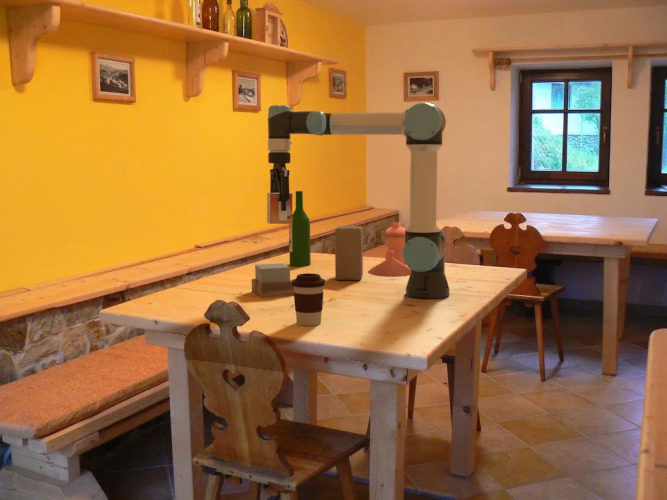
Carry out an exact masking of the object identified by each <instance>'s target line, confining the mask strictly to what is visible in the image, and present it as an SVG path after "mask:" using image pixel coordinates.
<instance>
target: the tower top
mask: <svg viewBox="0 0 667 500" xmlns="http://www.w3.org/2000/svg"><path fill="white" fill-rule="evenodd" d="M254 269H255V271H254V272H255V275H254V276H255V278H254V279H256V280H258V281H259V282H260V283H261V284H263V283H279V282H290V279H291V266H290V265H289V266H288V265H287V264H285V263H284V262H282V263H264V264H255V265H254Z"/></svg>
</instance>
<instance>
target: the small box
mask: <svg viewBox="0 0 667 500" xmlns="http://www.w3.org/2000/svg"><path fill="white" fill-rule="evenodd" d="M289 197H290V198H289V200H288V201H287V220H284V221H279V201H278V199H280V197H279V193H270V192H267V193H266V204H267V205H266V222H267V223H268V224H269V225H277V224H278V225H289V224H292V215H293V207H294V206H293V199H294V198H293V193H292V192H289Z"/></svg>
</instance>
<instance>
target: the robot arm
mask: <svg viewBox="0 0 667 500" xmlns="http://www.w3.org/2000/svg"><path fill="white" fill-rule="evenodd" d="M446 121H447V120H446V117H445V114H444V112H443V111H442V110H441V109H440V108H439V107H438V106H436V105H434V104H433V103H430V102H419V103H415V104H414V105H412V106H411V107H409V108H406V109H405V110H404V111H393V112H391V111H389V112H380V111H379V112H378V111H377V112H323V111H321V110H319V111H318V110H308V111H307V110H305V111H303V110H302V111H301V110H300V111H293V110H291V107H290V106H289V105H287V104H284V105H281V104H280V105H279V104H277V105H276V104H273V105H270V106H269V107H268V113H267V131H268V133H267V135H268V136H267V138H268V139H267V150H268V151H269V152H268V155H267V157H268V159H267V161H268V164H273V165H272V166H273V167H272V169H269V175H270V181H269V189H270V190H269V191H270V192H269V193H279V197H280V199H278V201H279V221H284V220H287V201H288V200H289V198H290V197H289V193H290V170H289V169H287V166H286V164H290V163H291V153H290V152H289V151H291V145H292V144H293V143H292V141H291V135H315V136H334V135H335V136H337V135H339V136H340V135H341V136H344V135H345V136H347V135H350V136H351V135H352V136H355V135H356V136H358V135H362V136H363V135H364V136H365V135H368V136H370V135H371V136H373V135H379V136H380V135H384V136H385V135H388V136H389V135H391V136H392V135H401V136H404V137H405V146H406V147H407V149H408V150H409V152H410V170H409V171H410V172H409V174H410V176H409V178H410V180H409V185H410V186H409V189H410V190H409V224H408V226H407V227H405V245H404V248H403V252H402V254H403V260H404V262H405V264H404V265H406V266H407V267H409V268H410V269H411V274H410V275H409V278H408V281H407V283H406V287H405V295H406V296H408V297H412V298H420V299H437V298H438V299H439V298H440V299H441V298H446V297H448V296H450V286H449V283H448V279H447V276H446V273H445V268H446V267H445V264H446V263H445V262H446V261H445V258H446V257H445V256H446V255H445V254H446V249H445V248H446V246H445V245H446V234H445V230H444V229H441V228H440V227H438V225H437V197H438V196H437V195H438V194H437V192H438V191H437V190H438V189H437V188H438V187H437V186H438V152H439V150H440V149H441V148H442V147H443V133H444V130H445V128H446V124H447V123H446Z"/></svg>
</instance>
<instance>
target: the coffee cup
mask: <svg viewBox="0 0 667 500" xmlns="http://www.w3.org/2000/svg"><path fill="white" fill-rule="evenodd" d="M291 280H292V286H294V295H293V299H294V311H295V315H296V324H297V325H298V324H299V325H298V326H300V325H303V326H302V327H317V326H319V325H321V323H322V312H323V306H324V304H323V303H324V287H325V286H326V280H325V279H324V278H321V275H320V274H319V273H308V272H306V273H300V274H297V275H296V278H294V279H291Z"/></svg>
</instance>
